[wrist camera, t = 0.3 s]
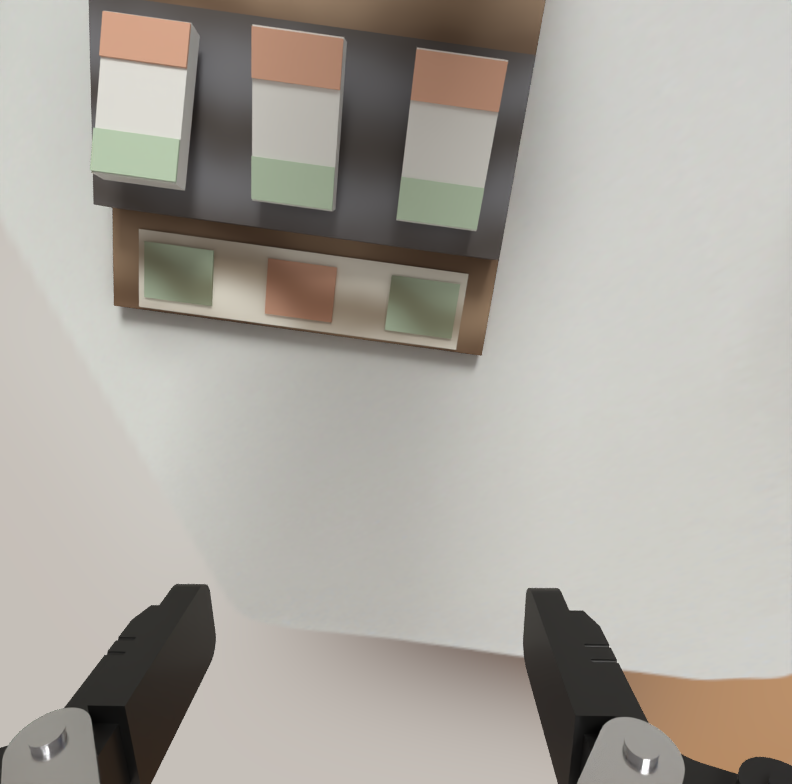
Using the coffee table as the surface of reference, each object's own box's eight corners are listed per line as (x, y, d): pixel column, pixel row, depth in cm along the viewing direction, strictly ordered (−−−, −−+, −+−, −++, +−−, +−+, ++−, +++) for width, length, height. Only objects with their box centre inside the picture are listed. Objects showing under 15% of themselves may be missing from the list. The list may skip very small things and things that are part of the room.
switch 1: (116, 24, 30) (102, 8, 28) (199, 36, 30) (190, 21, 28) (103, 179, 30) (89, 171, 29) (185, 190, 30) (175, 183, 29)
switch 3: (417, 51, 28) (416, 46, 27) (504, 64, 28) (508, 59, 27) (397, 218, 32) (396, 220, 31) (474, 228, 32) (476, 231, 31)
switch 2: (259, 29, 28) (251, 23, 27) (347, 42, 28) (343, 36, 27) (257, 199, 32) (251, 200, 31) (335, 209, 32) (331, 211, 31)
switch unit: (118, -102, 32) (64, -170, 27) (549, -41, 32) (575, -97, 27) (122, 304, 39) (79, 310, 34) (479, 352, 39) (489, 366, 34)
